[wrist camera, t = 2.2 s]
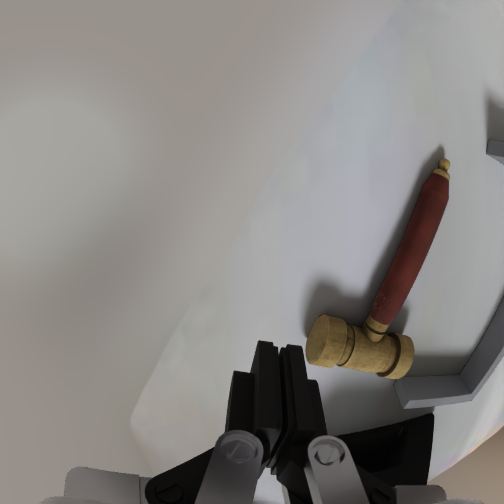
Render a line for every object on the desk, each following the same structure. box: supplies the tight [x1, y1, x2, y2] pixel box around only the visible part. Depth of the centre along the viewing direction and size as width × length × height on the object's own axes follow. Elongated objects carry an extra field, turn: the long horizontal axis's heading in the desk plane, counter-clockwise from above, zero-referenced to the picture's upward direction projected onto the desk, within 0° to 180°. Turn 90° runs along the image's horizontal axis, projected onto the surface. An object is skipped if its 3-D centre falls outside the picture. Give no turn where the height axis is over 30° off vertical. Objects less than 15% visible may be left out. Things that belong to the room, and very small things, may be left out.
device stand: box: [333, 413, 434, 487], centre depth 30 cm, size 22×22×15 cm
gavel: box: [306, 158, 450, 379], centre depth 22 cm, size 21×5×10 cm
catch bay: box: [394, 140, 504, 409], centre depth 22 cm, size 12×29×4 cm, turn 170°
